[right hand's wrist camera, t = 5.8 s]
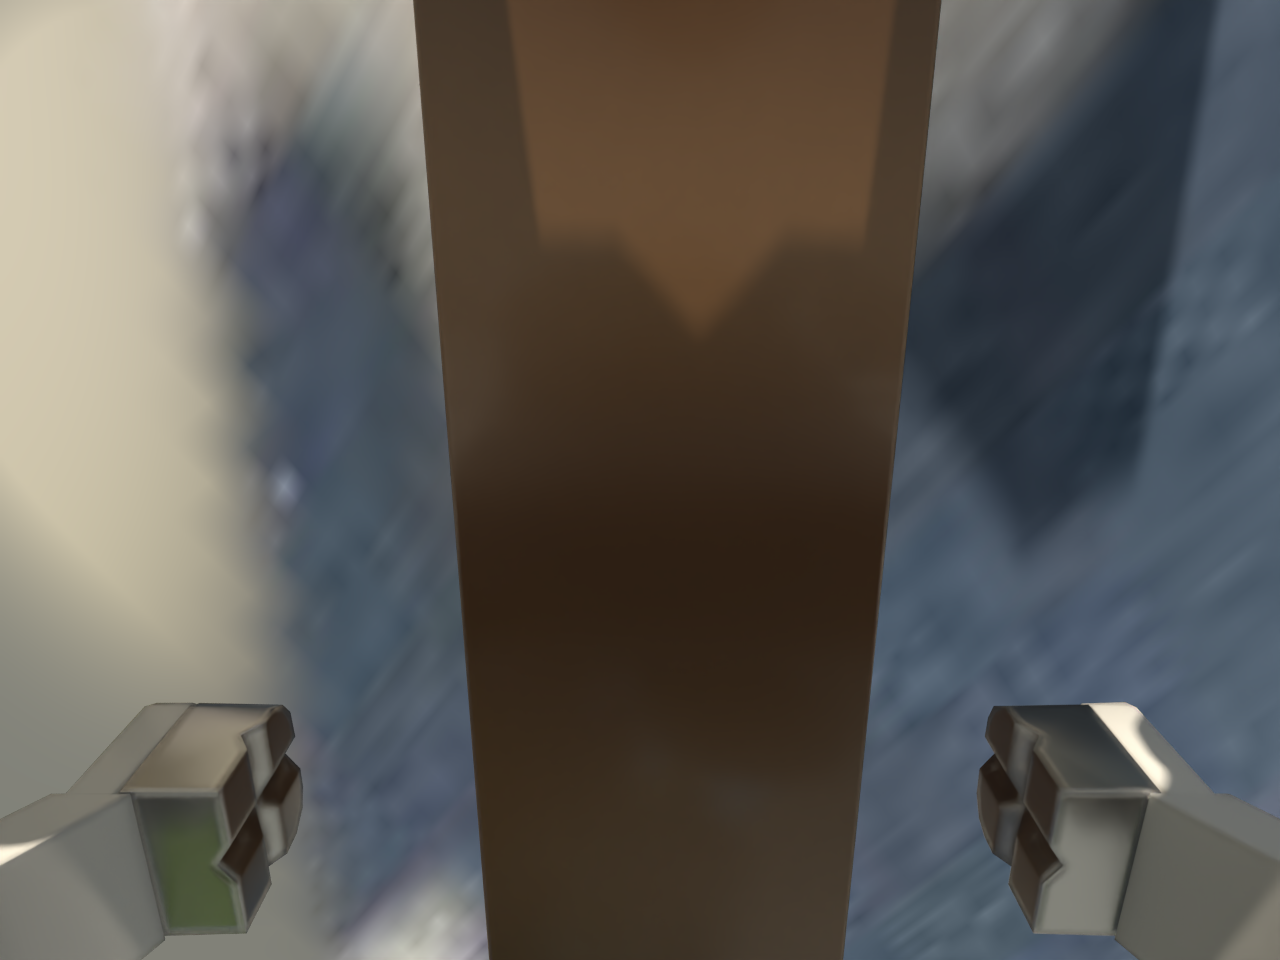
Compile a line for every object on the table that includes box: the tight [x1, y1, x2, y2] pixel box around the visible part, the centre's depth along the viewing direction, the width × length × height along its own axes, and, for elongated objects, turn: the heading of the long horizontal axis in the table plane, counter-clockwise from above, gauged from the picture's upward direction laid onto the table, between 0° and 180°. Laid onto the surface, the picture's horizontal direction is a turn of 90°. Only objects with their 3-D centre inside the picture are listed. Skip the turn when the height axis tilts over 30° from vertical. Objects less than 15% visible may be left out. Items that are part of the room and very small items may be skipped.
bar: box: [413, 0, 941, 960], centre depth 12 cm, size 23×5×9 cm, turn 0°
